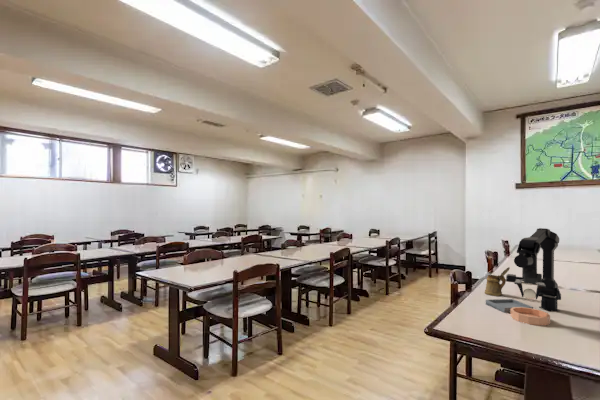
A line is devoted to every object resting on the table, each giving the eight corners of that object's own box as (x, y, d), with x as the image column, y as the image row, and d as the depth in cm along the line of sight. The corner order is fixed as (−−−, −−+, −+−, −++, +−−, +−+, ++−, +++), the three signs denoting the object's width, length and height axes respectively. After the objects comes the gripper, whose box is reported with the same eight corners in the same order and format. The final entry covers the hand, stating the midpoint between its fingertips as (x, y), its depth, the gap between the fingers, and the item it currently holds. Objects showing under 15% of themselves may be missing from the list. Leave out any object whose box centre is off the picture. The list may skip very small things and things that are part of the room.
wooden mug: (506, 298, 188) (506, 268, 188) (482, 293, 198) (482, 264, 199) (512, 296, 193) (512, 266, 194) (488, 291, 204) (488, 263, 204)
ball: (530, 297, 156) (530, 287, 156) (538, 300, 151) (538, 290, 151) (520, 297, 156) (520, 287, 156) (529, 300, 151) (529, 290, 151)
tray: (512, 303, 179) (512, 299, 179) (533, 311, 165) (533, 307, 165) (485, 304, 177) (485, 299, 177) (504, 312, 163) (504, 307, 163)
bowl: (531, 313, 162) (531, 306, 162) (558, 324, 147) (558, 317, 147) (503, 314, 160) (503, 307, 160) (528, 325, 145) (528, 318, 145)
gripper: (506, 265, 152) (506, 298, 152) (556, 270, 142) (556, 306, 142) (506, 262, 162) (506, 293, 161) (553, 266, 151) (553, 300, 151)
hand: (529, 298), depth 154 cm, fingers closed on ball, 5 cm apart
